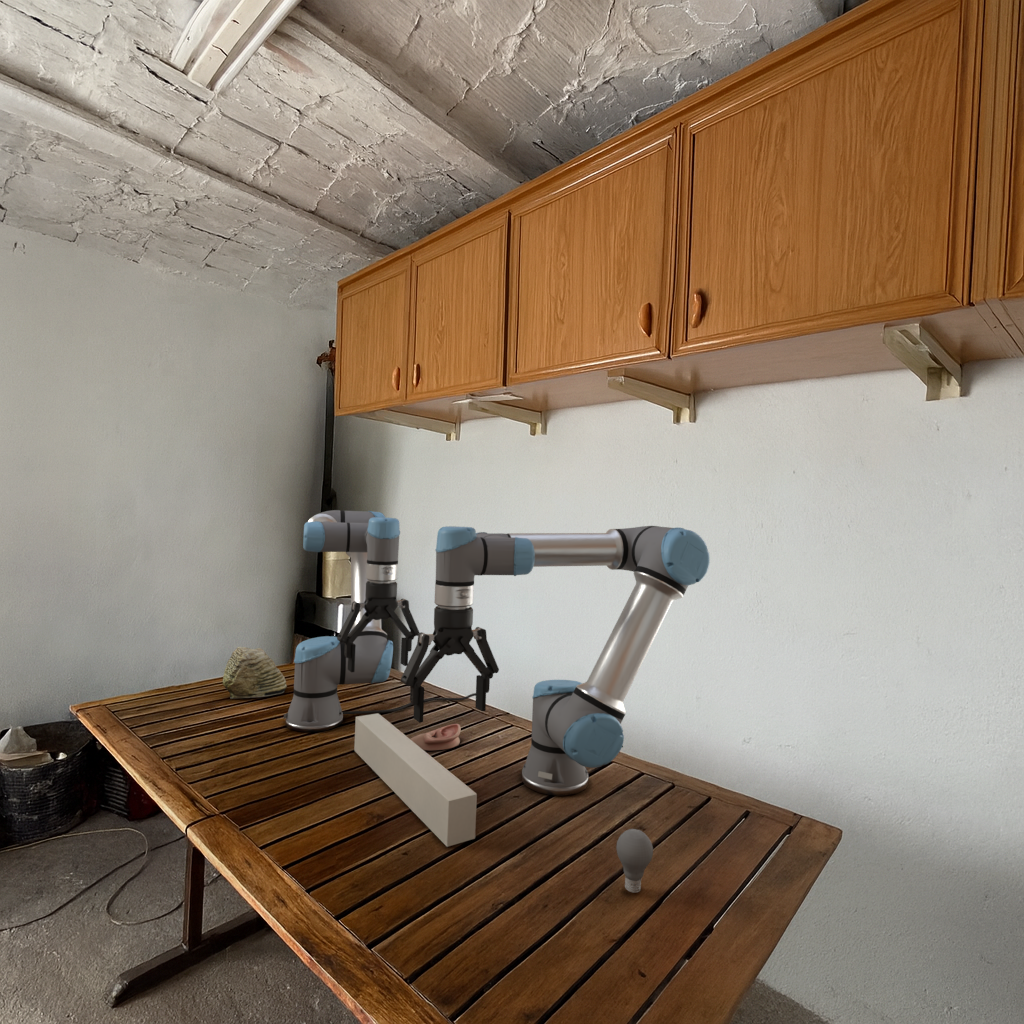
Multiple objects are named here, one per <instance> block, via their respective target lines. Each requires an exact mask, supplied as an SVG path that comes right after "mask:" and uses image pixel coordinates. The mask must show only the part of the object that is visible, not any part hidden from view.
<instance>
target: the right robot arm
mask: <svg viewBox="0 0 1024 1024" xmlns="http://www.w3.org/2000/svg"><path fill="white" fill-rule="evenodd" d="M436 536H437V537H436V546H435V584H434V604H435V605H436V606H435V608H434V609H433V628H434V629H433V632H432V633H424V632H422V631H421V632H419V635H418V636H417V641H416V645H415V647H414V650H413V651H412V654H411V656H410V658H409V659H408V665H407V666H405V669H404V671H403V673H402V675H401V677H400V682H401V683H402V684H404V685H405V686H407V687H409V689H410V690H409V703H412V704H413V720H414V721H416V722H417V723H419V724H421V723H424V707H425V702H424V699H425V687H424V686H422V685H423V683H424V682H425V680H426V679H427V678H428V676H429V675H430V674H431V672H432V671H433V669H434V668H435V667H436V665H437V664H438V662H440V660H442V659H443V658H444V657H445V655H446V656H447V657H449V656H453V655H462V654H465V656H466V658H467V659H468V660H469V661H470V662H471V664H472V665H473V666H474V667H475V669H476V670H477V672H478V673H479V674H477V675H476V677H475V681H476V682H475V693H476V696H475V704H474V705H475V706H474V707H475V709H477V710H478V711H480V712H486V706H487V704H486V703H487V694H488V693H489V692H490V687H491V686H490V683H491V682H490V680H491V679H493V678H494V674H497V673H499V671H500V669H499V666H498V664H497V661H496V658H495V657H494V654H493V652H492V649H491V647H490V644H489V642H488V639H487V630H486V629H485V628H482V627H480V626H477V627H475V628H474V629H473V623H474V622H473V621H474V609H473V607H472V605H474V594H475V593H474V591H475V590H474V586H475V576H513V577H516V576H524V575H529V574H531V572H532V570H533V569H534V567H535V568H536V567H538V568H540V567H541V568H542V567H546V568H547V567H597V566H599V567H600V566H602V567H603V566H605V567H607V568H608V569H609V570H613V571H615V570H616V571H617V570H618V571H620V570H621V571H629V572H633V576H634V580H635V585H634V586H633V589H632V591H631V593H630V595H629V597H628V599H627V601H626V603H625V604H624V607H623V609H622V611H621V613H620V614H619V617H618V618H617V621H616V623H615V625H614V627H613V628H612V630H611V633H610V635H609V637H608V638H607V640H606V643H605V644H604V647H603V649H602V651H601V653H600V654H599V655H598V656H599V657H598V659H597V660H596V662H595V665H594V666H593V668H592V670H591V672H590V674H589V676H588V677H587V681H585V682H581V681H577V680H571V679H545V680H542V681H539V682H537V683H535V685H534V687H533V694H532V713H531V714H532V716H531V741H530V742H531V743H530V748H529V751H528V753H527V757H526V760H525V763H524V764H523V766H522V768H521V769H522V770H521V781H522V783H523V784H524V785H525V786H526V787H527V788H528V789H530V790H532V791H534V792H537V793H540V794H544V795H549V796H572V795H576V794H579V793H581V792H583V791H585V790H586V789H587V788H588V786H589V772H588V768H589V769H596V768H600V767H602V766H606V765H608V764H609V763H611V762H612V761H613V760H614V759H615V758H616V757H617V756H618V755H619V753H620V752H621V750H622V748H624V741H625V740H624V739H625V735H624V733H623V732H624V729H623V727H622V722H623V720H624V719H625V716H626V715H627V711H626V708H625V705H624V701H625V699H626V697H627V695H628V693H629V691H630V689H631V687H632V685H633V683H634V681H635V679H636V677H637V675H638V673H639V670H640V669H641V667H642V665H643V663H644V660H645V658H646V657H647V654H648V653H649V650H650V648H651V646H652V644H653V642H654V640H655V638H656V636H657V634H658V632H659V629H661V628H660V627H661V626H662V624H663V622H664V619H665V618H666V615H667V613H668V611H669V609H670V608H671V605H672V603H673V602H674V601H677V600H679V599H683V597H684V596H685V594H686V592H687V589H688V588H689V586H692V585H695V584H697V583H699V582H701V581H702V580H703V579H704V578H705V576H706V575H707V573H708V571H709V568H710V563H711V562H710V561H711V559H710V558H711V557H710V552H709V550H708V549H709V548H708V545H707V543H706V541H705V540H704V538H703V537H702V536H701V535H700V534H698V533H697V532H696V531H693V530H690V529H685V528H684V527H669V526H658V525H643V526H635V527H627V528H626V527H625V528H610V529H608V530H606V532H592V533H591V532H561V533H560V532H559V533H558V532H555V533H553V532H546V533H545V532H543V533H542V532H539V533H538V532H536V533H535V532H531V533H529V532H527V533H526V532H525V533H523V532H522V533H521V532H519V533H517V532H516V533H512V532H511V533H510V532H509V533H502V532H501V533H499V532H497V533H488V532H485V531H479V532H477V531H476V529H475V528H474V527H472V526H471V527H470V526H456V525H455V526H454V525H453V526H451V525H449V526H447V525H445V526H442V527H439V529H438V531H437V535H436ZM473 639H474V640H475V642H476V645H477V647H478V650H479V652H480V654H481V656H482V658H483V660H482V659H481V658H480V657H479V655H478V654H477V652H476V651H475V649H474V648H473V646H472V645H471V644H470V643H471V641H472V640H473ZM432 642H433V643H434V645H433V646H432V648H430V650H429V653H428V655H427V656H426V654H427V651H428V649H429V646H430V645H432ZM425 656H426V658H425ZM424 658H425V659H424Z"/></svg>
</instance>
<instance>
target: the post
mask: <svg viewBox="0 0 1024 1024" xmlns="http://www.w3.org/2000/svg"><path fill="white" fill-rule="evenodd" d="M354 721H355V725H354V745H353V747H354V750H353V751H354V752H355V753H356V754H357V755H358V757H360V758H361V760H362V761H364V762H365V763H366V765H367V766H368V767H369V768H370V769H371V770H372V771H373V772H374V773H375V774H376V775H377V776H378V777H379V778H380V779H381V780H382V781H383V782H384V783H385V785H387V786H388V787H389V789H390V790H391V791H393V792H394V794H395V795H396V796H397V797H398V798H399V799H400V800H401V801H402V802H403V803H404V804H405V805H406V806H407V807H408V808H409V809H410V810H411V811H412V812H413V813H414V815H416V816H417V817H418V819H420V821H421V822H422V823H423V824H424V825H425V826H426V827H427V828H428V829H429V830H430V831H431V832H432V833H433V834H434V835H435V836H436V837H437V838H438V839H439V841H441V843H443V844H444V845H445V847H446V848H448V847H451V846H456V845H459V844H462V843H465V842H469V841H471V840H472V841H473V840H475V839H476V829H477V828H476V826H477V825H476V824H477V803H478V802H477V800H478V794H477V792H475V791H474V790H473V789H472V788H470V787H469V786H468V785H466V784H465V782H463V781H462V780H460V779H459V778H458V777H457V776H455V775H454V774H453V773H452V772H451V771H450V770H448V769H447V768H446V767H444V765H442V764H441V763H440V762H439V761H438V760H436V759H435V758H434V757H432V756H431V755H430V754H429V753H427V751H426V750H423V749H421V748H420V747H419V746H418V745H416V744H415V743H414V742H413V741H412V740H410V739H411V738H409V737H408V736H407V735H406V734H405V733H403V732H402V731H401V730H399V729H398V728H397V727H396V726H395V725H393V724H392V723H391V722H390V721H389V720H387V719H386V718H385V717H384V716H382V715H381V713H370V714H363V715H359V716H355V720H354Z"/></svg>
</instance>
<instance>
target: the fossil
mask: <svg viewBox="0 0 1024 1024" xmlns="http://www.w3.org/2000/svg"><path fill="white" fill-rule="evenodd" d="M222 676H223V677H222V685H223V687H224V688H225V690H226V691H228V693H229V698H230V699H250V698H264V697H271V696H275V695H281V694H284V693H285V691H286V689H287V687H288V686H287V680H286V678H285V676H284V674H283V673H282V672H281V669H279V668H278V667H277V665H276V663H275V662H274V660H273V659H272V658H271V657H270V656H269V655H268V654H267V653H266V652H265V650H264V649H263V648H260V647H258V648H251V647H247V646H246V647H245V646H238V647H237V648H236V649H235V650H233V651H232V653H231V656H230V657H229V659H228V660H227V663H226V666H225V668H224V671H223V675H222Z"/></svg>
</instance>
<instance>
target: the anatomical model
mask: <svg viewBox="0 0 1024 1024" xmlns="http://www.w3.org/2000/svg"><path fill="white" fill-rule="evenodd" d="M461 728H462V727H461V725H460V724H459V723H452V724H448V725H444V726H442V727H439V728H436V729H432V730H430V731H427V732H424V733H420V734H416V735H415V736H412V737H410V738H409V739H410V740H412V741H413V742H414V743H415V744H416V745H418V746H419V747H420V748H421V749H423V750H424V751H441V750H449V749H452V748H455V747H458V746H459V744H460V742H461V739H460V737H459V736H460V734H461V732H462V731H461Z"/></svg>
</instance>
